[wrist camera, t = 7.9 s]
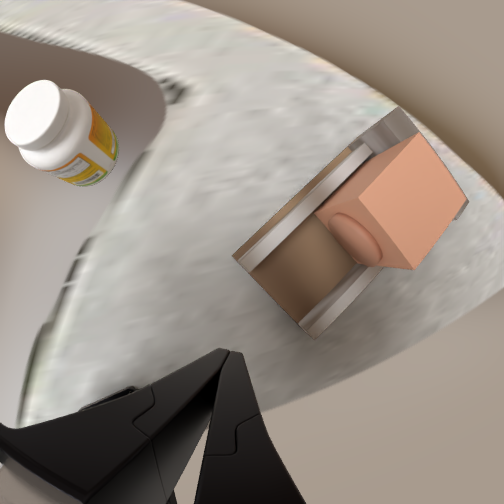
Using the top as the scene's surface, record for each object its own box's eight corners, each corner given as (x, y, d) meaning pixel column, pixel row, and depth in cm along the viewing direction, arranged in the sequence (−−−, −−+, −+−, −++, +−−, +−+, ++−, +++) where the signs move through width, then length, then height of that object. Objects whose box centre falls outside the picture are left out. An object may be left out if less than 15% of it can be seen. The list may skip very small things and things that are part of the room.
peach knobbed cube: (352, 269, 23) (407, 278, 15) (307, 218, 22) (350, 205, 15) (404, 210, 23) (466, 198, 16) (365, 161, 23) (419, 131, 15)
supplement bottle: (85, 115, 22) (32, 59, 12) (133, 140, 23) (90, 84, 13) (51, 170, 22) (-18, 137, 12) (96, 199, 22) (33, 173, 13)
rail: (306, 333, 24) (337, 361, 18) (231, 255, 24) (237, 259, 17) (418, 210, 25) (469, 201, 19) (358, 136, 25) (398, 106, 18)
